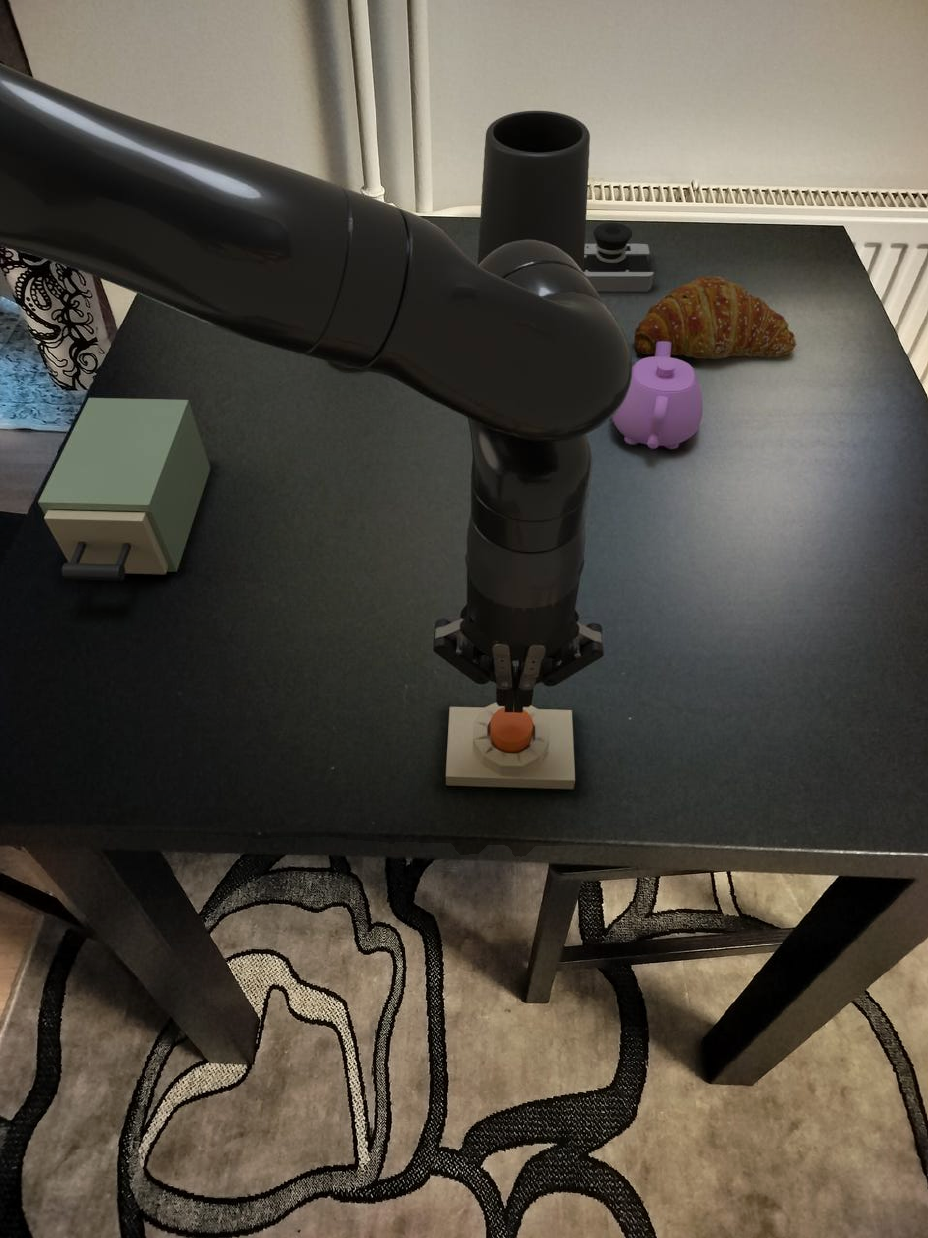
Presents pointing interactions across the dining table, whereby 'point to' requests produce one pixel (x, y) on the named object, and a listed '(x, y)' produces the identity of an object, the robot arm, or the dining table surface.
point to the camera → (617, 261)
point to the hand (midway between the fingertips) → (513, 703)
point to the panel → (492, 767)
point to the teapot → (660, 401)
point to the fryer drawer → (106, 544)
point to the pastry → (714, 323)
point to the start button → (511, 730)
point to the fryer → (134, 466)
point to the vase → (535, 182)
